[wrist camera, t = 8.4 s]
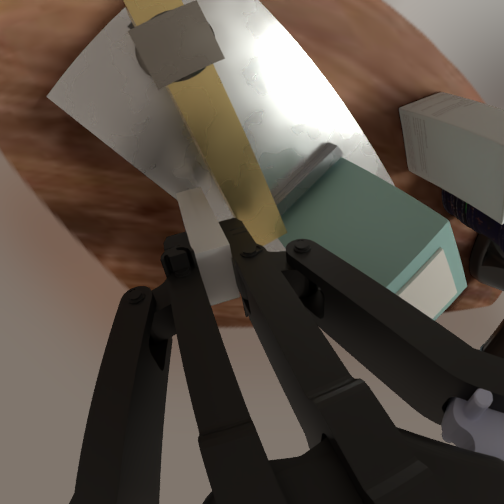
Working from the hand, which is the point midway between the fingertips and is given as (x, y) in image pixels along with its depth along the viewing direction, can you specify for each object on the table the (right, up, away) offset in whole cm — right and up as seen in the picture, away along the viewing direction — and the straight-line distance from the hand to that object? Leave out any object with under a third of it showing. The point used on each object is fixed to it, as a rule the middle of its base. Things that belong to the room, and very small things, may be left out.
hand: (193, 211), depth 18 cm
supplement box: (+21, +11, +10) cm, 26 cm away
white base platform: (+3, +6, +5) cm, 9 cm away
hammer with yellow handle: (0, +5, -2) cm, 6 cm away
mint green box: (+9, 0, +5) cm, 11 cm away
